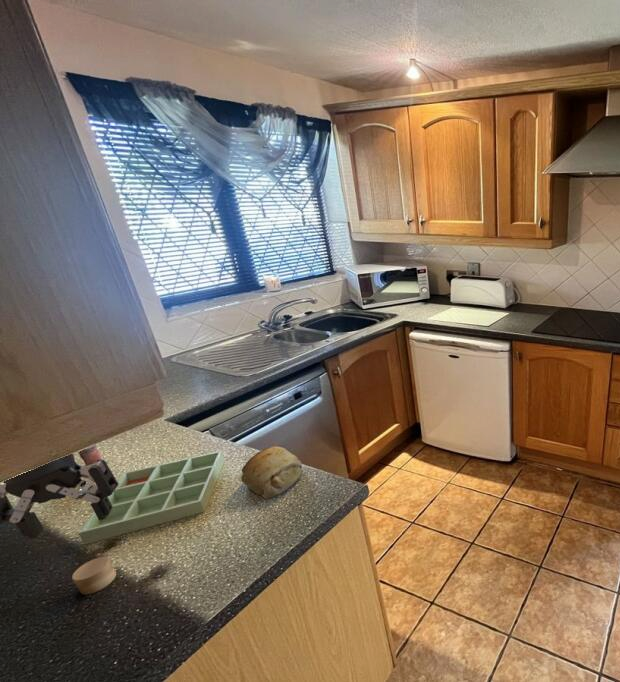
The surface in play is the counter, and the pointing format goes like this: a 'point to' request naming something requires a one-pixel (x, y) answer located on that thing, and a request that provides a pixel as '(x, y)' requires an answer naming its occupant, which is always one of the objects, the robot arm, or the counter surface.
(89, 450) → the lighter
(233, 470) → the counter surface
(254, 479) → the pastry
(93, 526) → the grid
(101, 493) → the robot arm
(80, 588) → the beige short cylinder
